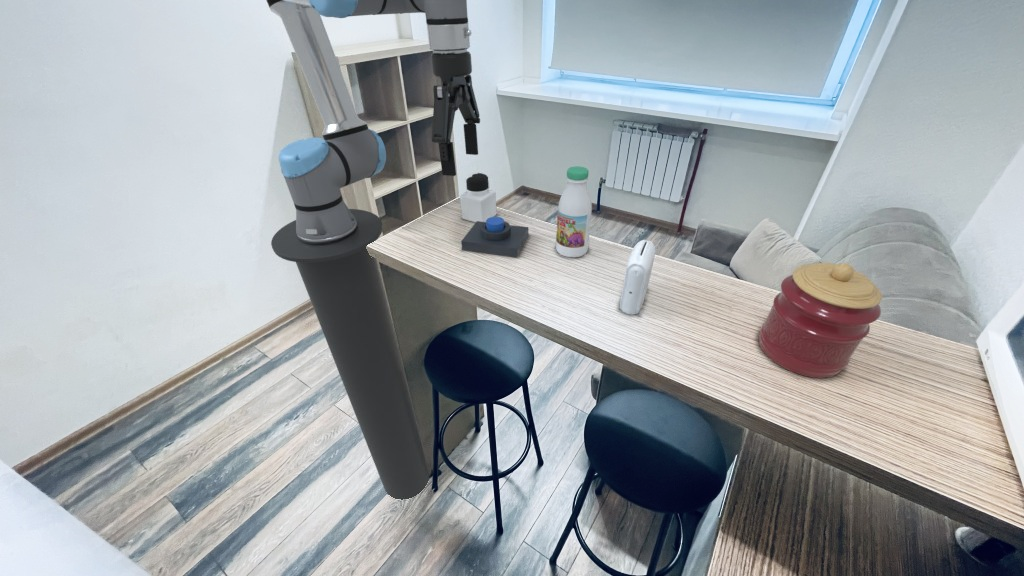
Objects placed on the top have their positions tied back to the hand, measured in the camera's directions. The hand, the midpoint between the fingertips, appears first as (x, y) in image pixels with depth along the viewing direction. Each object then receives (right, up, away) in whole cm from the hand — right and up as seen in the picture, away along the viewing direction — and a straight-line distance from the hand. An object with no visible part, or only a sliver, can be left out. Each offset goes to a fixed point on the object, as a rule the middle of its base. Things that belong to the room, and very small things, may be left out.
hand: (461, 164), depth 88 cm
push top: (+7, -12, +12) cm, 18 cm away
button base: (+7, -16, +14) cm, 22 cm away
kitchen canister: (+60, -38, -18) cm, 74 cm away
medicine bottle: (+2, -7, +26) cm, 27 cm away
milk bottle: (+26, -18, +11) cm, 33 cm away
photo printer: (+36, -30, -6) cm, 47 cm away
